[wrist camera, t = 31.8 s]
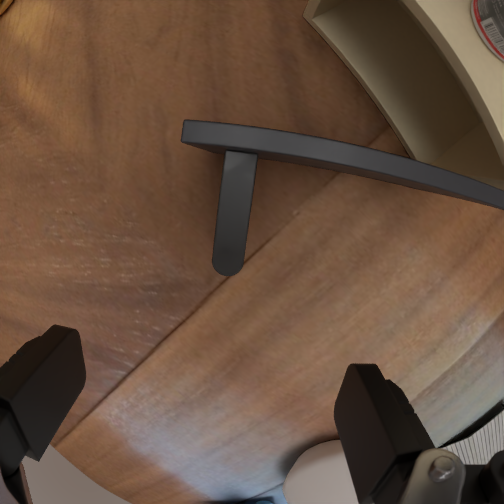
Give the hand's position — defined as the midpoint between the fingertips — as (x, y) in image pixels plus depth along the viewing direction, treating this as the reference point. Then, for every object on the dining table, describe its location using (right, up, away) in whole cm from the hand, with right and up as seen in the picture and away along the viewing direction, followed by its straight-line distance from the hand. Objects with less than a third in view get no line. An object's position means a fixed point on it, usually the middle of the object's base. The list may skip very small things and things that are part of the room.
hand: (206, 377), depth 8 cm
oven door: (+7, +8, +17) cm, 20 cm away
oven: (+15, +20, +14) cm, 29 cm away
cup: (+12, -24, +26) cm, 38 cm away
